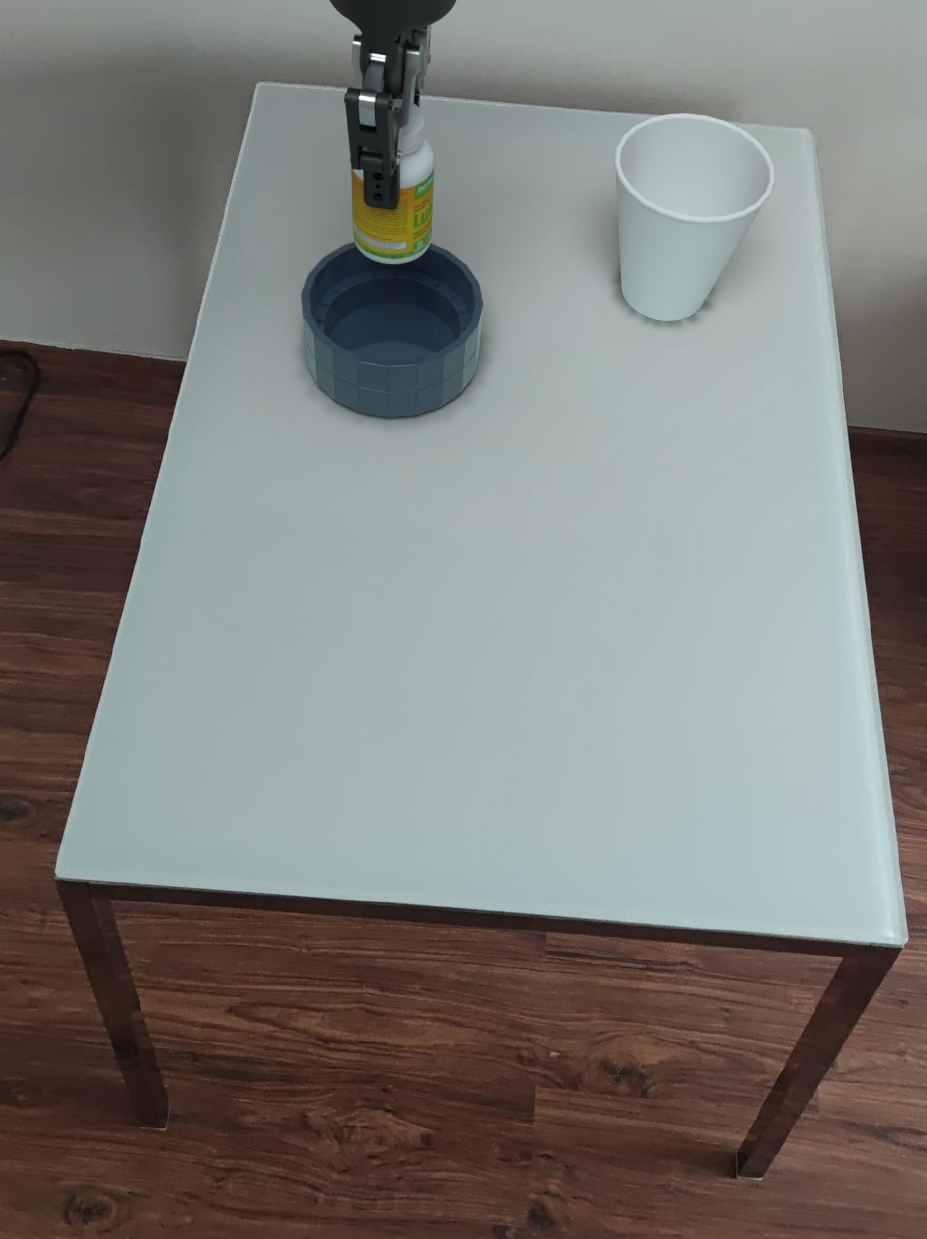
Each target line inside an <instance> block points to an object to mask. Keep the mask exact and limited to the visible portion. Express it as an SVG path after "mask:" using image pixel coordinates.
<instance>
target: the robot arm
mask: <svg viewBox="0 0 927 1239" xmlns="http://www.w3.org/2000/svg"><path fill="white" fill-rule="evenodd" d="M329 2H330V4H331V5H332V6H333V7H334V9H335V10H336V11H337V12H338V13H339V14H340V15H341V16H342V17H344V18H345V19H347V20H348V21H349V22H352V24H353V25H354V26H355V27H356V28H358V30H359V31H360V33H354V35H353V37H352V45H351V66H352V68H354V81H353V82H354V83H353V87H351V86H348V87H347V90H346V93H344V97H343V103H344V106H345V115H346V125H347V126H346V127H347V136H348V138H347V139H348V147H349V157H350V158H349V162H350V168H351V167H352V169H355V170H363V188H364V202H365V204H366V205H368V206H370V207H375V208H381V209H387V210H395V209H396V208H397V206H398V203H399V200H400V159H402V151H401V147H402V135H403V127H405V126H406V125H407V124H408V123H409V121H410V120H411V118H412V115H413V104H415V105H416V106H417V107H419V108H420V107H421V106H420V102H421V95H422V93H423V90H425V87H426V80H425V77H426V76H427V71H428V66H429V64H430V63H431V58H432V55H431V53H430V51H431V37H432V36H431V35H432V30H433V28H432V25H433V24H435V23H438V22H439V21H441V20H442V19H443V18H445V17H446V16H447V15H448V14H449V13H450V12H451V11H452V9H453V8H454V6H455V5H456V3H457V0H329ZM395 99H402V106H401V107H399V108H396V107H394V103H393V101H392V100H395ZM420 109H421V108H420Z"/></svg>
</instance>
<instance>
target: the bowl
mask: <svg viewBox="0 0 927 1239" xmlns="http://www.w3.org/2000/svg"><path fill="white" fill-rule="evenodd" d="M481 289H482V288H481V285H480V282H479V281H478V279H477V278H476V277H475V275H474V274H473V272H472V271H471V269H470V268H469V266H468V265H467V264H466V263H465V262H464V261H462V260H461V259H460V258H458V257H457V256H456V255H455V254H453V253H452V252H451V251H449V250H448V249H445V248H444V247H441V246H438V245H436V244H434V243H431V242H430V244H429V247H428V249H427V250H426V251H425V252H424V253H423V254H422V255H421V256H420V257H418V258H417V259H415V260H413V261H410V262H407V263H402V264H385V263H380V262H377V261H374V260H371V259H370V258H368V257H366V256H365V255H364V254H363V253H362V252H361V251H360V250H359V249H358V247H357V246H356V244H355V241H352V242H348V243H345V244H343V245H341V246H340V247H338V248H336V249H335V250H333V251H332V252H331V251H330V253H328V254H326V255H324V256H323V257H322V258H321V259H320V260H319V261H318V263H316V265H314V267H312V269H311V270H310V271H309V272H308V274H307V276H306V279H305V282H304V285H303V287H302V290H301V293H300V298H301V311H302V323H303V334H304V345H305V346H304V347H305V357H306V366H307V368H308V370H309V372H310V374H311V376H312V378H313V379H314V381H315V384H316V385H318V387H319V388H320V389H322V390H323V391H324V392H325V393H326V394H327V395H329V397H330V398H332V399H333V400H334V401H336V402H337V403H339V404H341V405H344V406H346V407H348V408H350V409H351V410H355V411H357V412H359V413H360V414H361V413H363V414H366V415H367V414H368V415H373V416H379V417H384V418H385V417H386V418H392V417H393V418H394V417H407V416H408V417H409V416H415V415H416V416H418V415H420V414H423V413H426V412H429V411H433V410H436V409H438V408H441V407H443V406H445V405H446V404H448V402H450V401H451V400H453V399H454V398H456V397H458V396H459V395H460V394H461V393H462V392H463V391H464V390H465V388H466V387H467V385H468V384H469V383H470V381H471V380H472V379H473V377H474V376H475V374H476V370H477V366H478V361H479V357H480V347H481V336H482V324H483V313H484V312H483V311H484V300H483V295H482V290H481Z"/></svg>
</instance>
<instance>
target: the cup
mask: <svg viewBox="0 0 927 1239" xmlns="http://www.w3.org/2000/svg"><path fill="white" fill-rule="evenodd" d="M613 162H614V164H613V167H614V170H615V182H616V196H617V197H616V198H617V200H616V201H617V221H618V242H619V244H618V245H619V262H620V285H621V286H620V287H621V292H622V296H623V298H624V300H625V301H626V303H627V305H629V307H630V308H632V309H633V310H634V311H635V312H636V313H639V314H640V315H642V316H644V317H646V318H649V319H652V320H655V321H661V322H662V321H663V322H676V321H680V320H681V321H682V320H685V319H687V318H689V317H691V316H693V315H694V314H696V313H698V311H699V310H700V308H701V307H702V306H703V304H704V302H705V301H706V300H707V298H708V296H709V294H710V293H711V291H712V290H713V288H714V287H715V284H716V283H717V281H718V279H719V278H720V276H721V275H722V273H723V272H724V270H725V268H726V266H727V265H728V263H729V262H730V260H731V258H732V257H733V256H734V254H735V252H736V250H737V249H738V247H739V245H740V244H741V242H742V240H743V238H744V237H745V235H746V234H747V232H748V231H749V229H750V227H751V225H752V224H753V222H754V221H755V219H756V217H757V216H758V214H759V212H760V211H761V208H762V207H763V206H764V204H765V202H767V200H769V198H770V197H771V194H772V192H773V189H774V187H775V185H776V170H775V165H774V163H773V161H772V157H771V156H770V154H769V153H768V151H767V150H766V148H765V147H764V146H763V145H762V144H761V142H760V141H759V140H757V139H756V138H755V137H754V136H753V135H751V134H750V133H749V132H747V131H746V130H744V129H743V128H741V127H739V126H737V125H735V124H732V123H731V122H728V121H726V120H723V119H719V118H716V117H713V116H709V115H705V114H697V113H688V112H685V113H684V112H683V113H682V112H681V113H665V114H662V115H658V116H653V117H650V118H647V119H646V120H643V121H642V122H639V123H638V124H635V125H633V126H632V127H631V128H630V129H628V131H627V132H626V133H624V134H623V135H622V136H621V138H620V140H619V142H618V144H617V146H616V148H615V149H614V161H613Z"/></svg>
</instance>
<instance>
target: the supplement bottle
mask: <svg viewBox="0 0 927 1239" xmlns="http://www.w3.org/2000/svg"><path fill="white" fill-rule="evenodd" d="M392 101H393V103H394V107H396V108H399V107H401V106H402V99H395V100H392ZM425 121H426V120H425V115H424V113H423V110H421V108H419V107H417V106H416V105H415V104H413V115H412V118H411V120H410V121H409V123H408V124H407V125H406V126H405V127H403V135H402V147H401V151H402V159H400V200H399V203H398V206H397V208H396V209H395V210H387V209H381V208H375V207H370V206H368V205H366V204H365V202H364V188H363V170H355V169H352V167H351V166H350V175H351V210H352V217H351V218H352V235H353V242H355V244H356V246H357V247H358V249H359V250H360V251H361V252H362V253H363V254H364V255H365V256H366V257H368V258H370V259H371V260H374V261H377V262H380V263H385V264H402V263H407V262H410V261H413V260H415V259H417V258H418V257H420V256H421V255H422V254H423V253H424V252H425V251H426V250H427V249H428V247H429V244H430V243H431V240H432V233H433V232H432V230H433V209H434V206H433V205H434V186H435V184H434V182H435V181H434V180H435V152H434V148H433V146H432V144H431V142H430V141H429V140H428V139H427V137H426V136H425V125H426V124H425V123H426V122H425Z"/></svg>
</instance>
